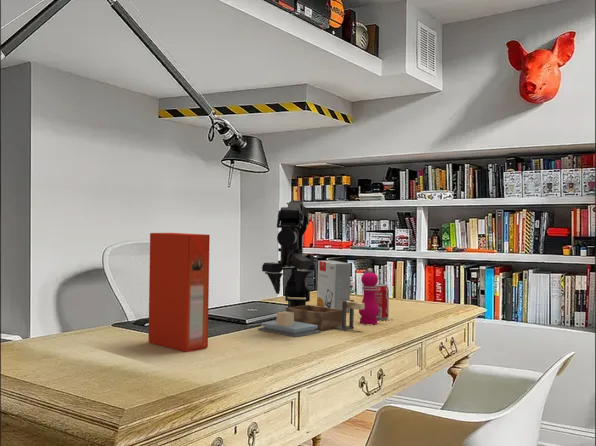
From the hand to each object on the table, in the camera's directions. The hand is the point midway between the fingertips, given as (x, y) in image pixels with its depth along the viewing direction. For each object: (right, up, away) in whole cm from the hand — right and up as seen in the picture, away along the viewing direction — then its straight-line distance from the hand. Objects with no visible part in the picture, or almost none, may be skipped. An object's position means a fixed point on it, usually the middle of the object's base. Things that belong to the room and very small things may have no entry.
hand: (288, 292), depth 204 cm
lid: (0, -11, 0) cm, 11 cm away
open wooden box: (+11, -13, +10) cm, 19 cm away
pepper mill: (+29, -14, +20) cm, 38 cm away
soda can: (+34, -14, +30) cm, 47 cm away
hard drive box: (+18, -13, +51) cm, 56 cm away
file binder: (-31, -12, -27) cm, 43 cm away
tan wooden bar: (+22, -6, +5) cm, 23 cm away
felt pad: (0, -13, 0) cm, 13 cm away
